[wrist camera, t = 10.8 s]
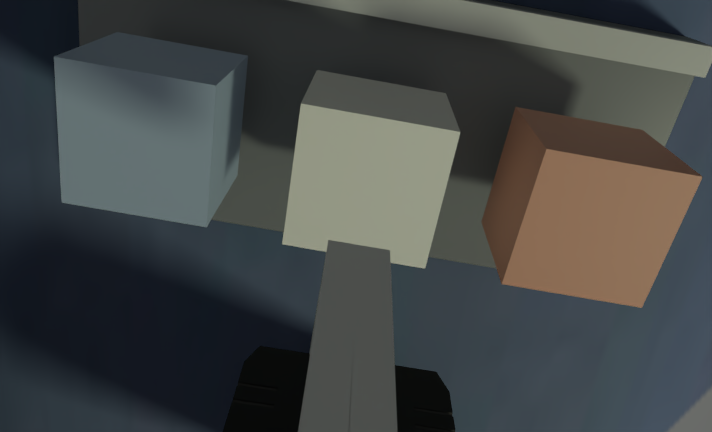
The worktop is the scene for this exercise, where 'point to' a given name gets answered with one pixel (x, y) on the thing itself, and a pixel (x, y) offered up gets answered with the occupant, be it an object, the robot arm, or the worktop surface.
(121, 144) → the blue-grey cube
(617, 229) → the orange-brown cube
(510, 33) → the grey open tray
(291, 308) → the worktop surface
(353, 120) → the cream cube
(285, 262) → the worktop surface
